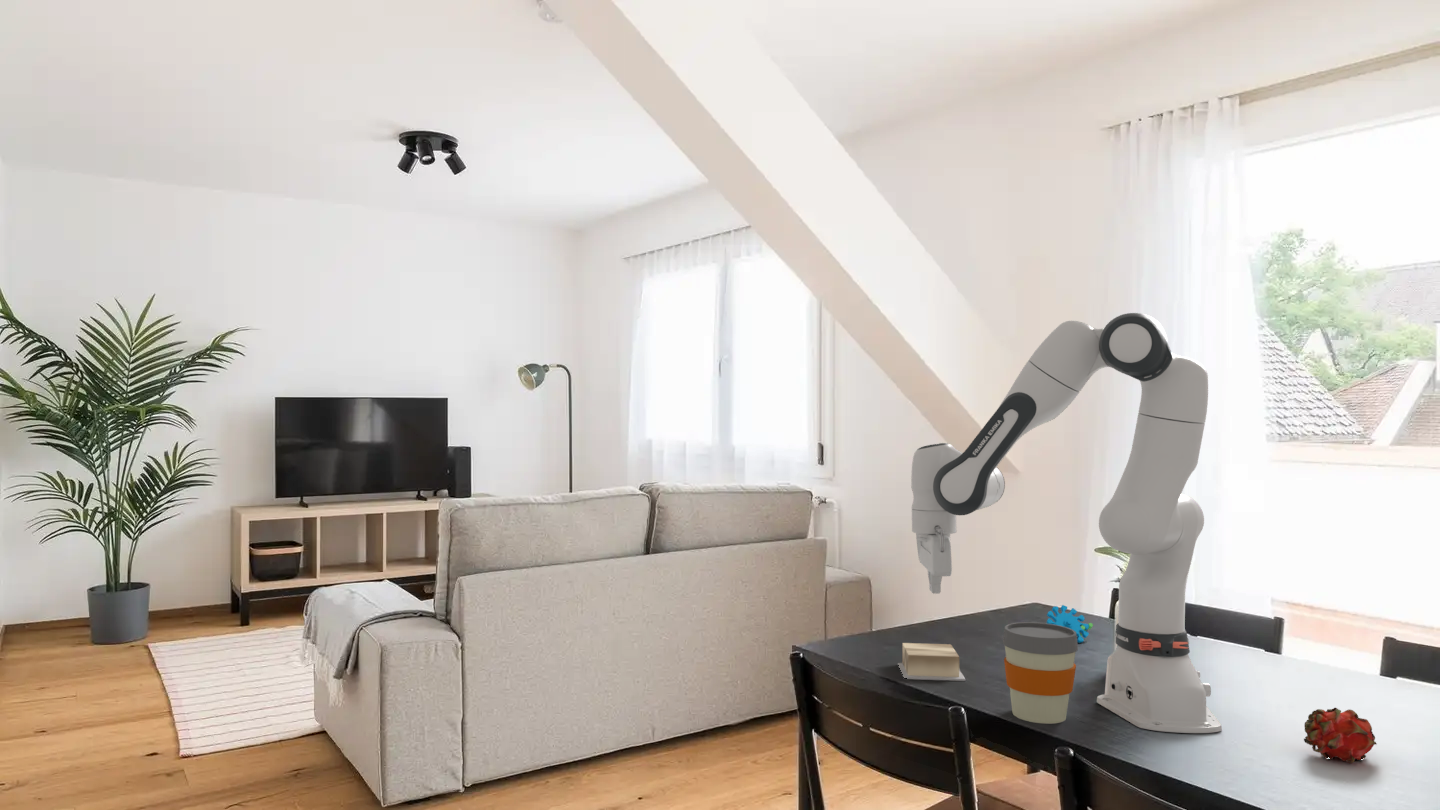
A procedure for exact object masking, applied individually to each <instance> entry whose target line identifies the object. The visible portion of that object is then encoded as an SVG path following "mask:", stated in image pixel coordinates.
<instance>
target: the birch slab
mask: <svg viewBox="0 0 1440 810" xmlns="http://www.w3.org/2000/svg"><path fill="white" fill-rule="evenodd" d="M901 650H902V651H901V652H902V655H901V657H902V658H901V659H902V660H901V663H903V665H904V667H905V669H906V671H907V674H908V675H915V676H946V677H959V670H960V656H959V654H958V653H957V651H956V650H955V649H954V647H953V645H952V644H951V643H949V644H947V643H923V642H922V643H916V642H915V643H914V642H913V643H912V642H902V649H901Z"/></svg>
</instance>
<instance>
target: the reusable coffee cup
mask: <svg viewBox="0 0 1440 810" xmlns="http://www.w3.org/2000/svg"><path fill="white" fill-rule="evenodd" d="M1003 628H1004V629H1003V636H1002V637H1003V638H1002V644H1003V646H1004V650H1005V657H1004V658H1003V662H1004V670H1005V671H1004V672H1005V680H1006V685H1007V686H1008V688H1009V695H1010V703H1011V711H1012V712H1011V713H1012V714H1013V716H1014V717H1016V718H1018V719H1019V720H1023V721H1025V722H1030V723H1036V724H1047V725H1049V724H1060V723H1063V722H1065V721H1066V719H1067V715H1068V714H1067V712H1068V707H1069V701H1070V699H1069V698H1070V694H1071V693H1072V692H1073V688H1074V683H1075V682H1074V681H1075V675H1076V670H1077V664H1076V663H1075V658H1076V652H1078V650H1079V648H1078V647H1079V646H1078V642H1077V638H1078V637H1077V634H1076V632H1075V631H1074V630H1072V629H1070V628H1067V627H1063V626H1059V625H1054V624H1047V622H1046V623H1045V622H1032V621H1030V622H1029V621H1028V622H1026V621H1025V622H1024V621H1023V622H1013V623H1009V624H1006V625H1005V626H1004V627H1003Z"/></svg>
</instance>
